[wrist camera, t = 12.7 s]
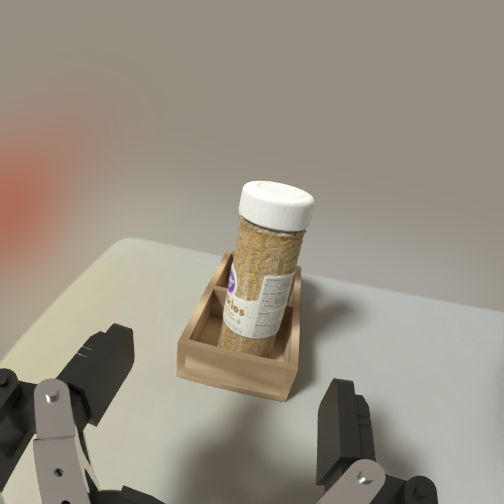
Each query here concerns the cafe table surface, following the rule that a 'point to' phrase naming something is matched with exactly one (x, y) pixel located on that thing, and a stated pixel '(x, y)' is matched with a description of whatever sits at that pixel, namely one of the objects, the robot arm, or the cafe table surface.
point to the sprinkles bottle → (263, 265)
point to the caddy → (232, 362)
